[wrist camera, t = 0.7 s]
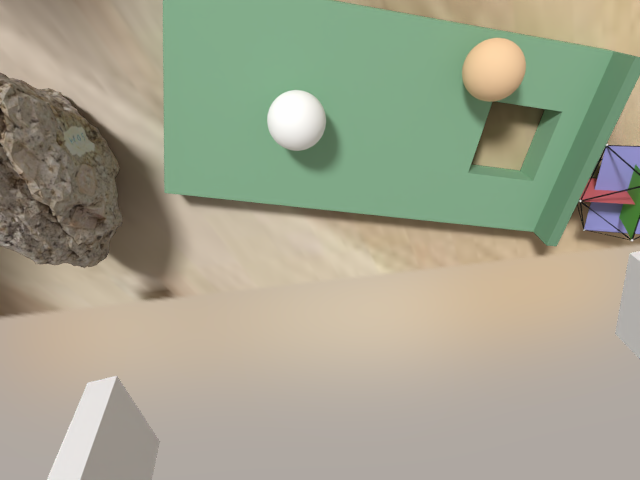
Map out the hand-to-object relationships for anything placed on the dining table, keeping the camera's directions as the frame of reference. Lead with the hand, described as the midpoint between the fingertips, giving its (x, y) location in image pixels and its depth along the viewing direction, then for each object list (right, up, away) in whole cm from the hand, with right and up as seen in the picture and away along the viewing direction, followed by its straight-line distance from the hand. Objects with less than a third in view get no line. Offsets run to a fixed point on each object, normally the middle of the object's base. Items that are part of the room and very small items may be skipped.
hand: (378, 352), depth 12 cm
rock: (-19, +9, +19) cm, 28 cm away
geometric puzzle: (+20, +8, +23) cm, 32 cm away
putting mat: (+3, +11, +19) cm, 23 cm away
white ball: (-3, +10, +15) cm, 19 cm away
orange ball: (+9, +13, +15) cm, 21 cm away
